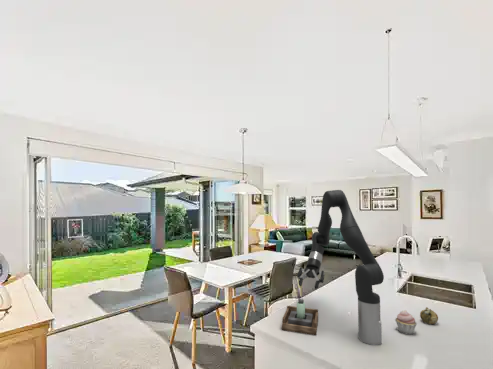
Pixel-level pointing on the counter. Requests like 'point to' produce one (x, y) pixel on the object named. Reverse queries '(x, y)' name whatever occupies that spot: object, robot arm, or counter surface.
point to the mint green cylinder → (300, 309)
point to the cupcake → (405, 322)
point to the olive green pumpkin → (429, 316)
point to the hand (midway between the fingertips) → (307, 286)
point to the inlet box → (300, 321)
